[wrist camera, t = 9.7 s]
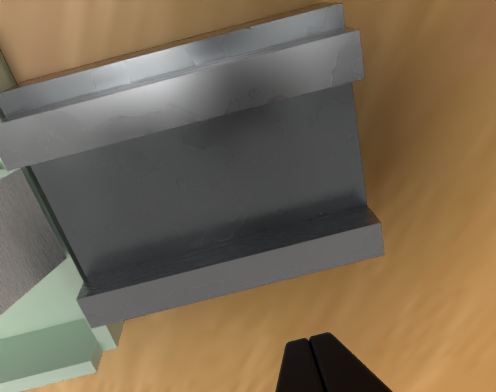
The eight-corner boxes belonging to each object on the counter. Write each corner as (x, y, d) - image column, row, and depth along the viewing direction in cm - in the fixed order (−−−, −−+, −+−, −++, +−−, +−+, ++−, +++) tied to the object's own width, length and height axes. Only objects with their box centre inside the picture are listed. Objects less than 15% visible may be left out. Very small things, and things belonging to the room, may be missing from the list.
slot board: (322, 2, 16) (356, 3, 13) (354, 222, 20) (386, 269, 17) (23, 81, 16) (-28, 104, 13) (117, 282, 21) (98, 342, 17)
